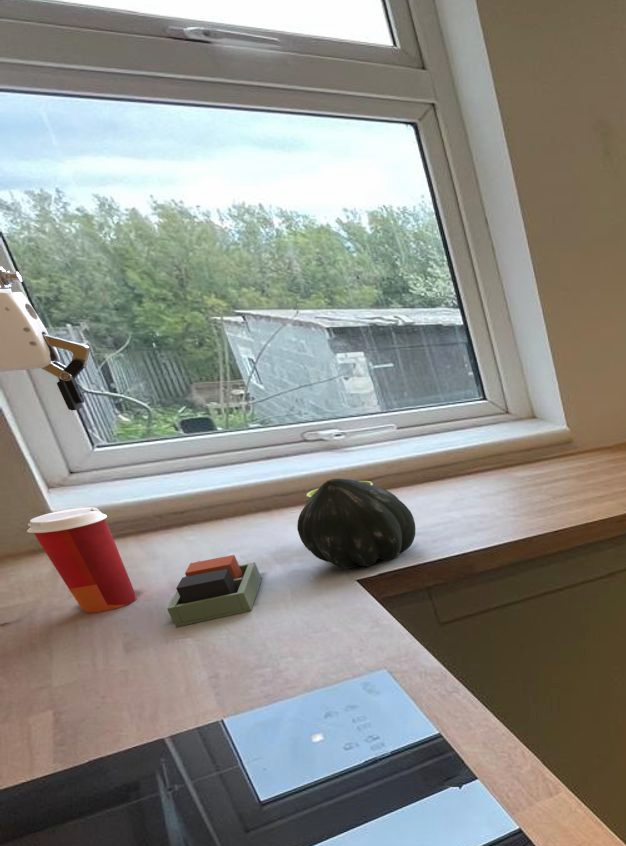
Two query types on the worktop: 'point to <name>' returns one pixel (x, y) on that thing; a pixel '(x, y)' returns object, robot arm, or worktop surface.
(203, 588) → the pad charcoal
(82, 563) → the paper cup
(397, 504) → the squash
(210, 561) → the pad terracotta
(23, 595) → the worktop surface
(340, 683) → the worktop surface
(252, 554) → the worktop surface
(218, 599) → the green tray
